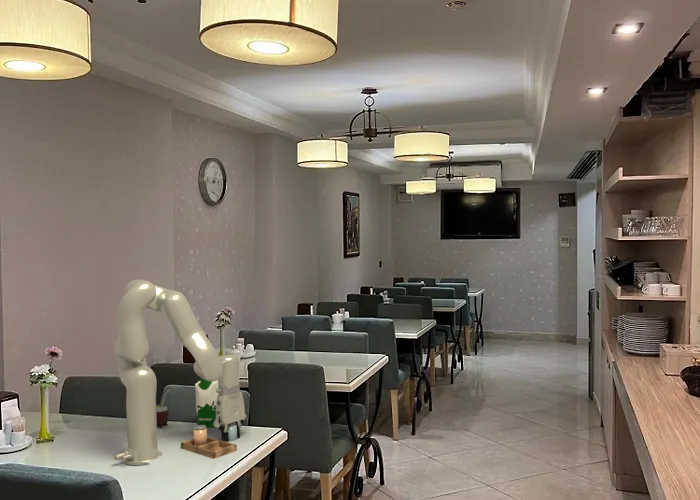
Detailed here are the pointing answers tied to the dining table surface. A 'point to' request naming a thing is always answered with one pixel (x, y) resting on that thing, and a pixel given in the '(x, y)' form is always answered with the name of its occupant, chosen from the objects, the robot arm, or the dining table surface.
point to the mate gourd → (162, 414)
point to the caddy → (210, 448)
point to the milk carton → (206, 402)
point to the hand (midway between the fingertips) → (231, 440)
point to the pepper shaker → (200, 435)
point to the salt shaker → (232, 431)
